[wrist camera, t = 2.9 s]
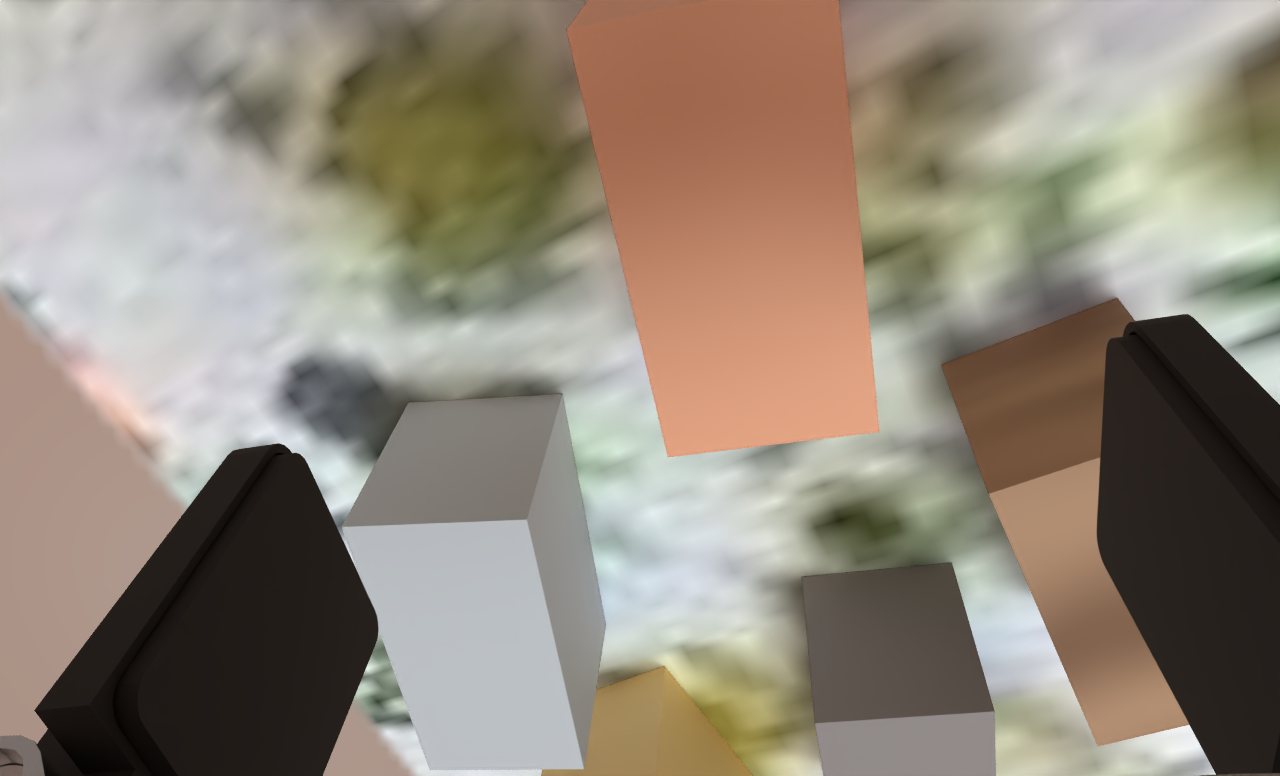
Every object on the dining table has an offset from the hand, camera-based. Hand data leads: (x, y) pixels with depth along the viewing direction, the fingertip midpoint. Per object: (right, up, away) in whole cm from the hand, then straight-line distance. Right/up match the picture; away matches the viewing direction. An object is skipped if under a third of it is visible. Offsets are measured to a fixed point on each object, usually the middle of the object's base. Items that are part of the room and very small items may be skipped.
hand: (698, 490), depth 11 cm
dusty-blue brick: (-4, -2, +15) cm, 16 cm away
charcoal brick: (+6, -7, +17) cm, 19 cm away
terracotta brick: (+1, +6, +9) cm, 11 cm away
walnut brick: (+10, -1, +12) cm, 16 cm away
